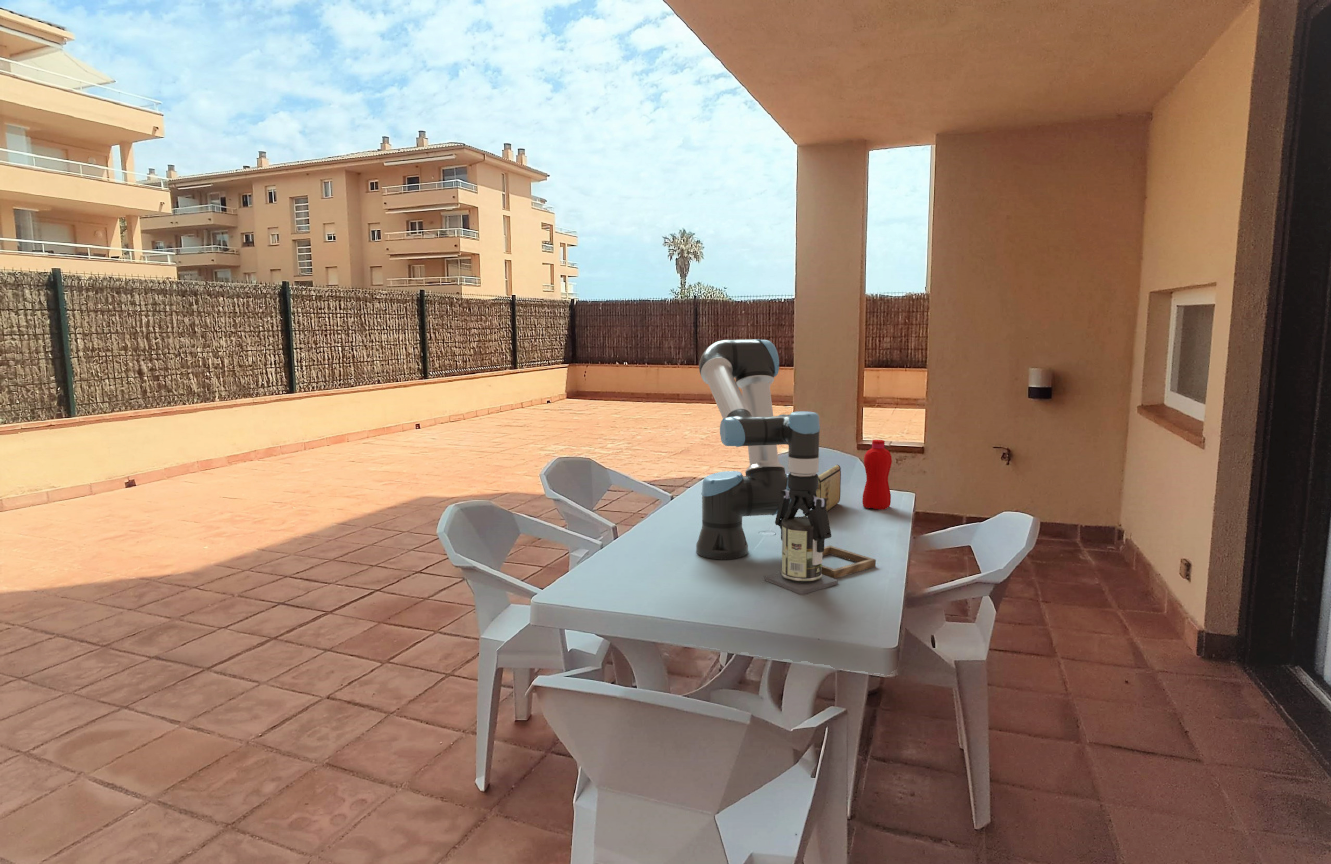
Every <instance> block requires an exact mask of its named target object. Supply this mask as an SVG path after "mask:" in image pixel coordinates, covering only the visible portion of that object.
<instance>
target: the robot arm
mask: <svg viewBox="0 0 1331 864" xmlns="http://www.w3.org/2000/svg"><path fill="white" fill-rule="evenodd" d="M703 351H704V352H703V353H702V354H701V357H700V359H699V363H698V370H699V374H700V377H701V379H702V381H703V382H704V383H705V384H706V385H708V387H709V390H710V393H711V394H712V396H713V398H714V400H715V401H714V402H715V403H716V406H717V409H718V411H719V413H720V416H721V417H722V419H721V421H720V424H719V425H720V426H719V436H720V440H721V442H722V444H723V445H724V446H726V447H737V448H739V447H741V448H742V447H747V449H748V451H747V452H748V453H747V454H748V460H749V462H748V463H749V466H748V467H747V468H746V469H745V472H744V473H745V476H744V475H743V473H742V472H741V471H738V470H731V471H730V470H727V471H726V470H725V471H719V472H715V473H714V472H713V473H711V474H709V475H707V476H705V477H704V478H703V481H702V483H701V484H702V487H701V493H700V494H701V496H702V497H701V509H702V510H701V518H702V519H701V529H700V532H699V536H698V540H697V542H696V544H695V545H696V546H695V547H696V548H695V552H696V554H697V555H698V556H700V557H703V558H707V559H711V560H712V559H713V560H735V559H740V558H743V557H745V556H746V555H748V554H749V544H748V542H747V539H746V538H747V537H746V535H745V531H744V529H743V517H755V516H775V515H776V517H775V521H774V524H775V525H776V526H778V527H779V529H780V540H781V541H782V520H783V519H793V518H794V517H796V515H797V513H798V511H799V510H800V511H802V512H803V511H804V512H805V514H804V515H806V517H808V519H809V522H810V524H811V526H813V527H814V528H813V532H814V535H815V539H813V560H812V565H818V564H822V565H823V556H822V552H824V547H825V541H826V539H831V538H832V531H831V527H830V521H829V516H828V511H827V510H826V502H827V500H826V498H818V497H817V495H816V490H817V488H818V476H819V474H818V472H819V460H820V459H819V456H820V452H819V451H820V430H821V425H820V415H819V413H817V412H813V411H807V410H806V411H805V410H803V411H801V410H799V411H793V412H791V413H789V414H786V413H785V414H784V413H783V414H779V415H774V411H773V403H772V394H771V393H772V392H771V386H772V384H773V383H774V382H775V377H776V376H778V374H779V371H780V370H779V369H780V357H779V353H778V351H777V348H776V346H775V344H774V343H773V342H772V341H771V340H768V339H759V338H754V339H721V340H717V341H714V342H713V343H712V344H710V345H709V346H708V347H706V349H705V350H703ZM740 389H741V390H740ZM780 445H781V446H782V445H783V446H784V445H787V446H788V454H787V455H788V465H787V472H789V473H786V469H785V467H784V466H783V465H782V464H781V463H780V462H779V461H780V460H779V453H778V446H780ZM819 533H820V535H819Z"/></svg>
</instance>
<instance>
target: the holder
mask: <svg viewBox="0 0 1331 864" xmlns="http://www.w3.org/2000/svg"><path fill="white" fill-rule="evenodd" d="M827 554H828V555H832V554H833V555H832V556H835V555H836V556H835V557H838V556H839V558H841V557H843V558H842V559H845V558H846V559H845V560H848V559H850V560H849V561H851V560H853V561H852V562H853V563H851V564H848V565H844V566H840V567H837V568H832V567H829V566H826V565H823V564H822V575H825V576H828V577H831V578H834V579H838V578H841V577H845V576H848V575H850V574H851V573H852V574H855V573H858V571H859V572H861V570H862V571H865V570H864V569H866V570H869V569H872V568H876V561H877V560H876V559H875V558H872V557H869V556H865V555H862V554H859V553H856V552H852V551H849V550H846V549H842V548H839V547H836V546H832V545H826V546H824V552H822V557H824V556H828V555H827ZM823 555H824V556H823ZM854 561H856V562H854ZM857 562H858V563H857ZM868 568H869V569H868ZM852 574H851V575H852Z"/></svg>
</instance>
